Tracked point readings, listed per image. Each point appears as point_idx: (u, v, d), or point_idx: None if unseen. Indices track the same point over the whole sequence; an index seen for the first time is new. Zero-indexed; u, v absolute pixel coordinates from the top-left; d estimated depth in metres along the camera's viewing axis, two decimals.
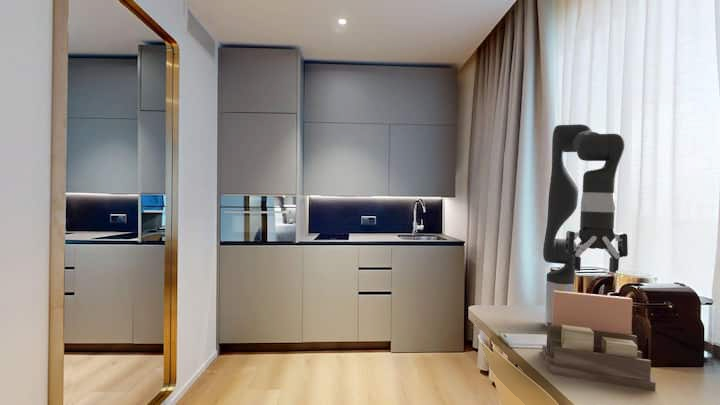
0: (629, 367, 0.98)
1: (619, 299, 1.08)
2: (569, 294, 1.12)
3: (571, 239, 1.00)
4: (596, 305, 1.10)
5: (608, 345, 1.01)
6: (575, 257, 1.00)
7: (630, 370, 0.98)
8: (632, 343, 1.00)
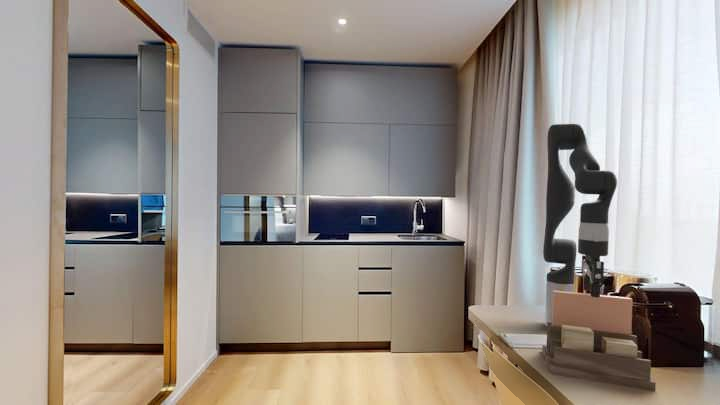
0: (629, 367, 0.98)
1: (619, 299, 1.08)
2: (569, 294, 1.12)
3: None
4: (596, 305, 1.10)
5: (608, 345, 1.01)
6: None
7: (630, 370, 0.98)
8: (632, 343, 1.00)
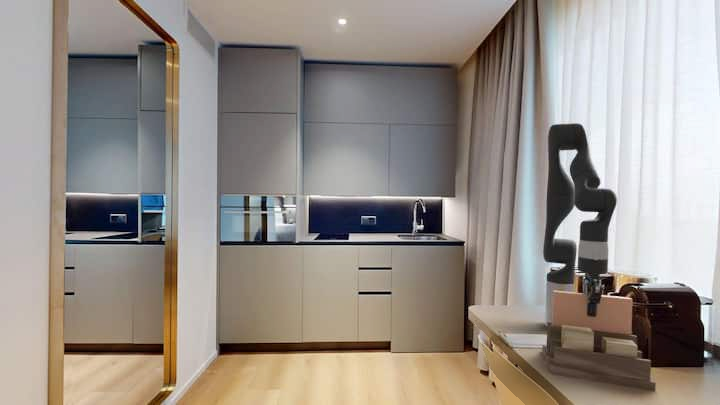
0: (629, 367, 0.98)
1: (619, 299, 1.08)
2: (569, 294, 1.12)
3: None
4: None
5: (608, 345, 1.01)
6: None
7: (630, 370, 0.98)
8: (632, 343, 1.00)
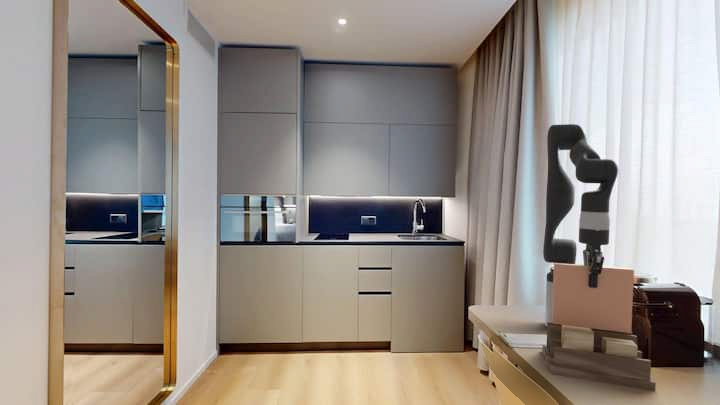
0: (629, 367, 0.98)
1: (620, 270, 1.08)
2: (570, 266, 1.12)
3: None
4: None
5: (608, 345, 1.01)
6: None
7: (630, 370, 0.98)
8: (632, 343, 1.00)
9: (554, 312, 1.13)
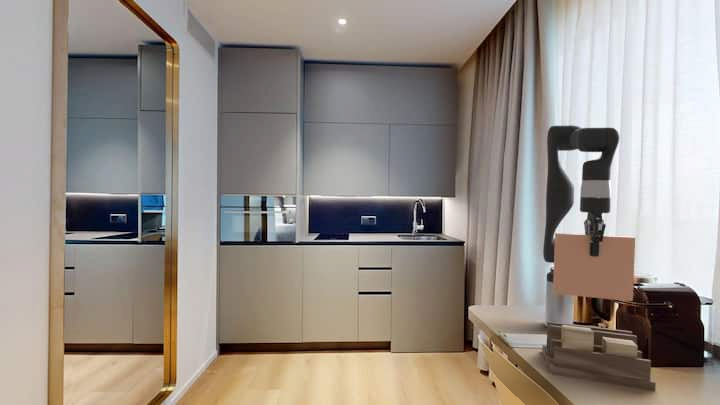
0: (629, 367, 0.98)
1: (622, 238, 1.08)
2: (571, 235, 1.12)
3: None
4: None
5: (608, 345, 1.01)
6: None
7: (630, 370, 0.98)
8: (632, 343, 1.00)
9: (555, 282, 1.13)
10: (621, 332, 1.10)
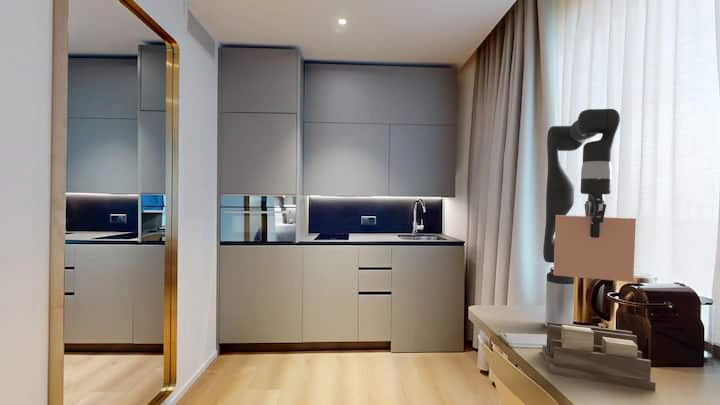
0: (629, 367, 0.98)
1: (622, 219, 1.08)
2: (572, 217, 1.12)
3: None
4: None
5: (608, 345, 1.01)
6: None
7: (630, 370, 0.98)
8: (632, 343, 1.00)
9: (556, 264, 1.13)
10: (621, 332, 1.10)
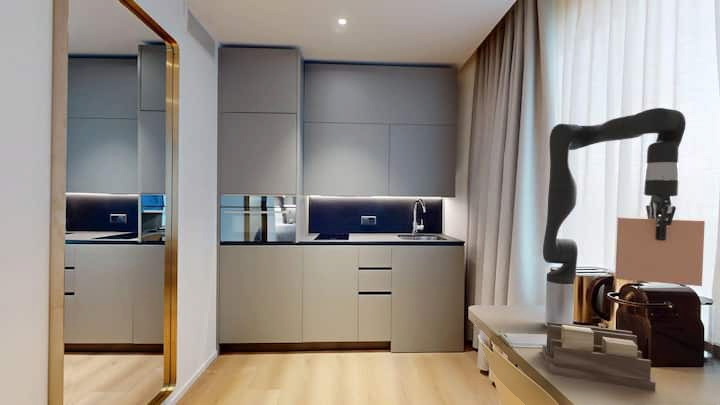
0: (629, 367, 0.98)
1: (690, 221, 1.05)
2: (636, 219, 1.09)
3: None
4: None
5: (608, 345, 1.01)
6: None
7: (630, 370, 0.98)
8: (632, 343, 1.00)
9: (619, 267, 1.11)
10: (621, 332, 1.10)
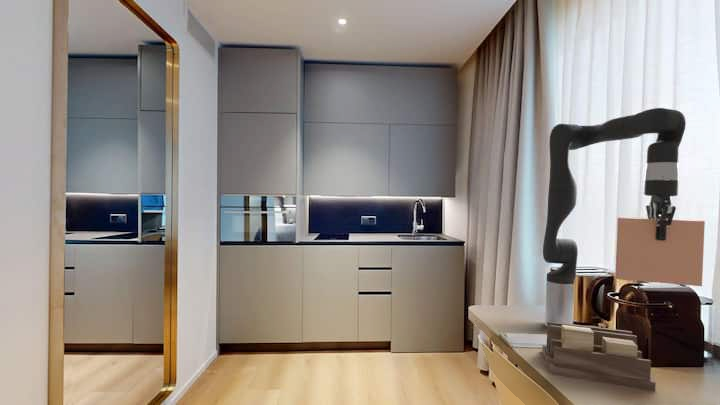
0: (629, 367, 0.98)
1: (690, 221, 1.05)
2: (636, 219, 1.09)
3: None
4: None
5: (608, 345, 1.01)
6: None
7: (630, 370, 0.98)
8: (632, 343, 1.00)
9: (619, 267, 1.11)
10: (621, 332, 1.10)
